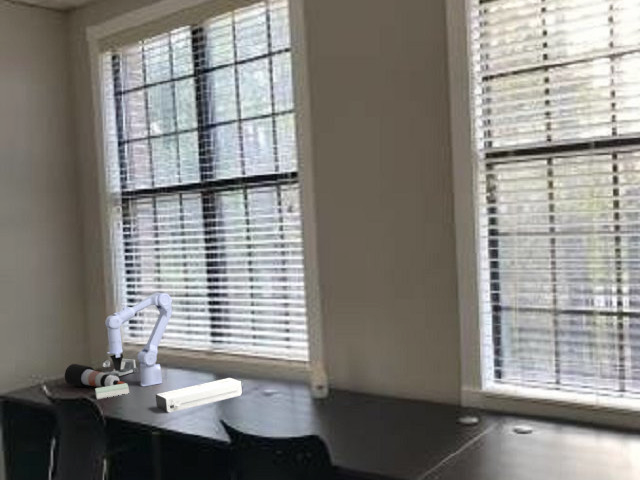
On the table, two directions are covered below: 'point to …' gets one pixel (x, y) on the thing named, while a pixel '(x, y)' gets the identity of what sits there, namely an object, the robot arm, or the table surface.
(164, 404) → the laminator
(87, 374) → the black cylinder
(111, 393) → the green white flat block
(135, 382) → the table surface
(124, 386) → the cover
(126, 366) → the phone holder
